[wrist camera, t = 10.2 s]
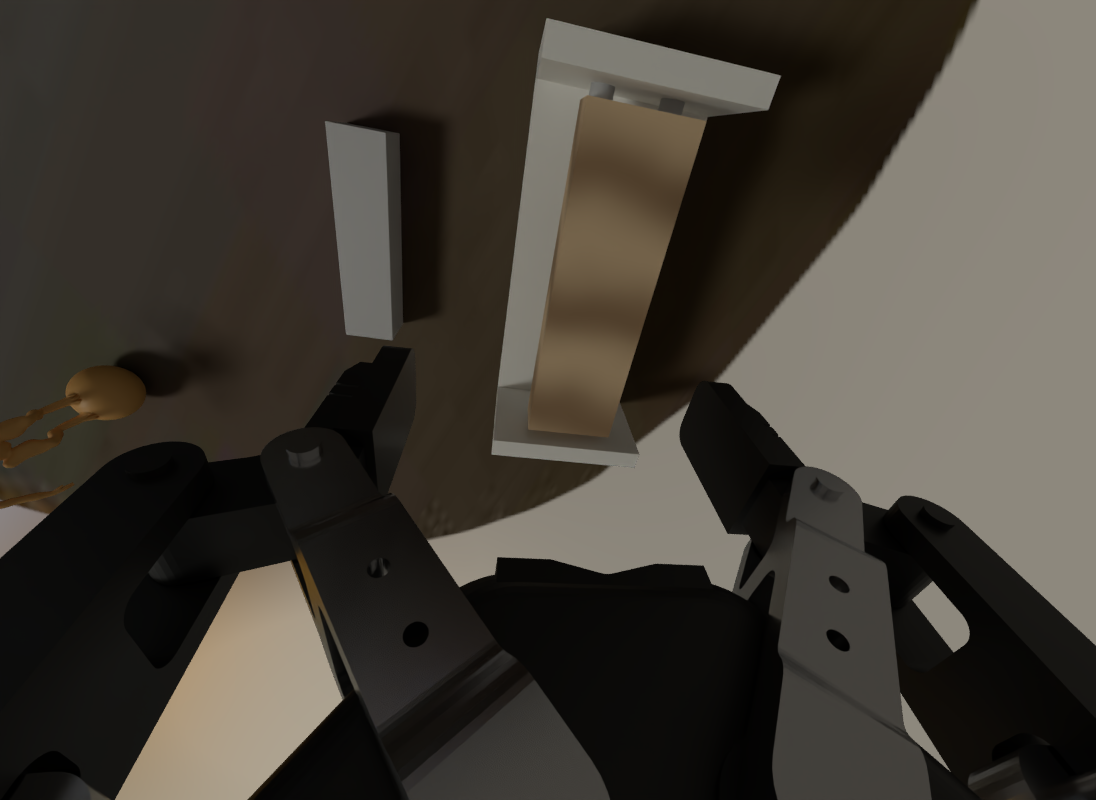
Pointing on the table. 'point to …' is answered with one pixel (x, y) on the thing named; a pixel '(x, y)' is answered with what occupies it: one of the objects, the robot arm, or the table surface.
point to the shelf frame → (561, 81)
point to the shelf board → (607, 258)
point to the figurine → (93, 398)
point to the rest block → (367, 226)
